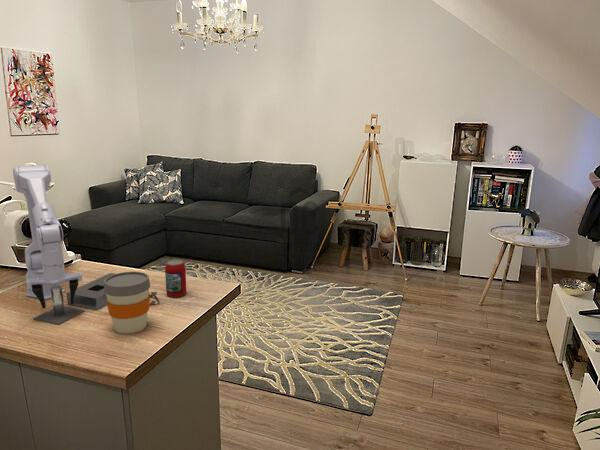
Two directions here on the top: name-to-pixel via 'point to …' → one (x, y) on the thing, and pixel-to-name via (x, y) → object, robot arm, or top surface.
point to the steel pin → (57, 299)
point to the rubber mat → (59, 320)
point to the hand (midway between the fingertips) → (58, 305)
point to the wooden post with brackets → (154, 298)
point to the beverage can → (175, 278)
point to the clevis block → (90, 294)
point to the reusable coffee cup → (128, 300)
